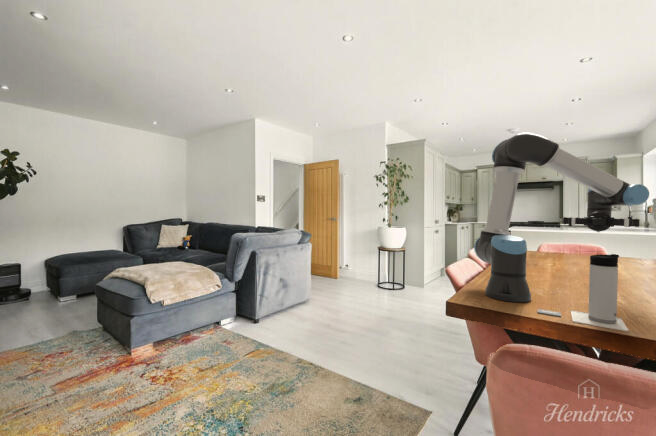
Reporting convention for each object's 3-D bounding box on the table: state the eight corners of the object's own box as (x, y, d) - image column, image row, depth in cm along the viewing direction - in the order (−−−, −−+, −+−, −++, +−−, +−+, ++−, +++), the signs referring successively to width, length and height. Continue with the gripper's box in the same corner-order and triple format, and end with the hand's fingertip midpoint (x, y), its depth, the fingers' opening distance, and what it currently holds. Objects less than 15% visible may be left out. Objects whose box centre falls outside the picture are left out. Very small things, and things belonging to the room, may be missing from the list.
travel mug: (623, 325, 87) (625, 256, 86) (596, 323, 88) (598, 255, 88) (608, 317, 93) (609, 253, 92) (583, 316, 94) (585, 252, 94)
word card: (537, 313, 98) (537, 311, 98) (537, 310, 101) (537, 308, 101) (560, 317, 94) (560, 315, 94) (560, 313, 97) (560, 312, 97)
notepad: (572, 321, 90) (572, 320, 90) (570, 311, 100) (570, 310, 100) (628, 331, 83) (628, 330, 83) (620, 319, 92) (620, 318, 92)
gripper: (644, 233, 109) (652, 235, 93) (558, 229, 126) (552, 231, 110) (645, 212, 109) (653, 211, 93) (558, 211, 126) (553, 210, 110)
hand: (598, 222), depth 102 cm, fingers open, 13 cm apart
